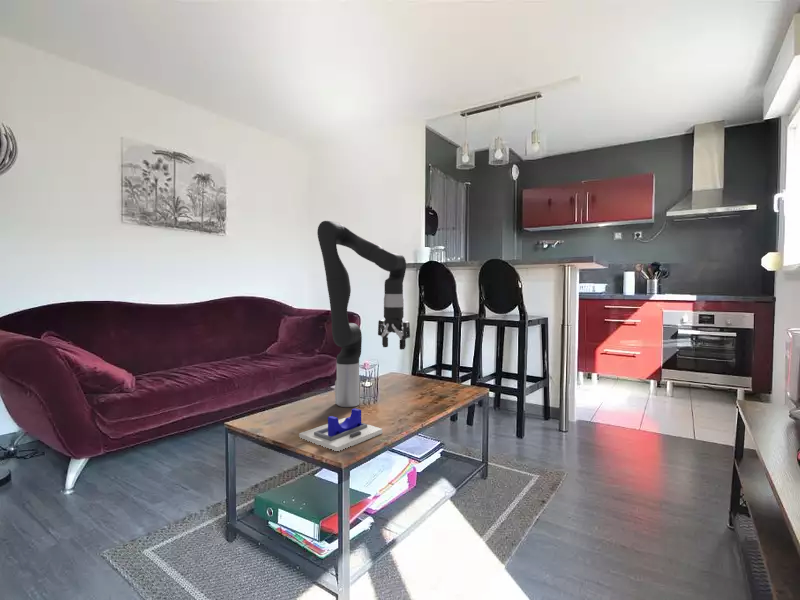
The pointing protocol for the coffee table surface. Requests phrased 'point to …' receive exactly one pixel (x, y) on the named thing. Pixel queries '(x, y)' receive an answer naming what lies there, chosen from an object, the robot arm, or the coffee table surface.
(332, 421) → the cable clip
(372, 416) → the coffee table surface
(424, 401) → the coffee table surface
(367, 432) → the board
